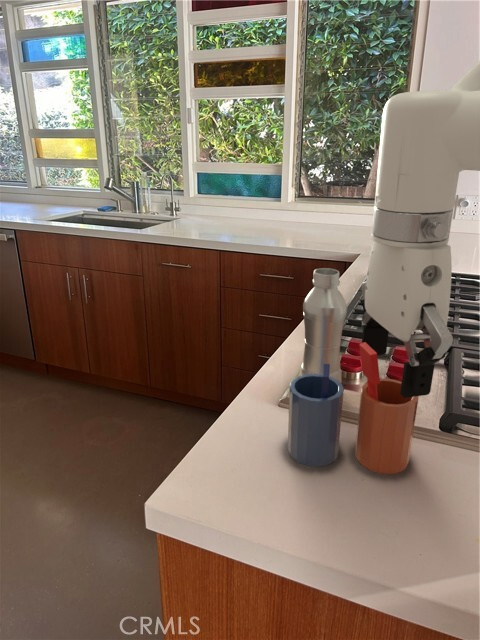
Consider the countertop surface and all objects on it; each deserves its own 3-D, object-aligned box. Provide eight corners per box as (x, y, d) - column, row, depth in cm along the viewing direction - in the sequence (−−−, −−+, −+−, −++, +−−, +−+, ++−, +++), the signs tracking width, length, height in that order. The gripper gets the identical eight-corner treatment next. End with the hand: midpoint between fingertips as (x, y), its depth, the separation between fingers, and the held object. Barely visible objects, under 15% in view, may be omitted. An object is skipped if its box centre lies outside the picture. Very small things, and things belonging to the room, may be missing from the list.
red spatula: (378, 447, 60) (366, 341, 53) (389, 463, 57) (378, 353, 50) (371, 450, 60) (357, 343, 53) (382, 465, 57) (369, 355, 50)
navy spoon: (325, 440, 61) (330, 363, 54) (324, 454, 59) (330, 377, 52) (318, 439, 61) (323, 363, 54) (317, 453, 59) (321, 376, 52)
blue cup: (327, 435, 63) (331, 371, 60) (345, 466, 58) (351, 397, 54) (282, 441, 62) (283, 376, 58) (296, 473, 56) (299, 403, 53)
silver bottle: (320, 378, 78) (326, 262, 70) (349, 395, 73) (360, 273, 65) (290, 389, 75) (293, 269, 67) (318, 408, 69) (325, 281, 62)
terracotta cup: (391, 441, 62) (400, 376, 58) (417, 473, 56) (429, 403, 52) (346, 447, 61) (352, 381, 57) (368, 481, 55) (376, 410, 51)
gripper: (502, 242, 40) (468, 410, 47) (401, 210, 56) (386, 339, 62) (423, 247, 39) (400, 419, 45) (342, 213, 54) (334, 345, 61)
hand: (392, 373), depth 54 cm, fingers open, 9 cm apart
